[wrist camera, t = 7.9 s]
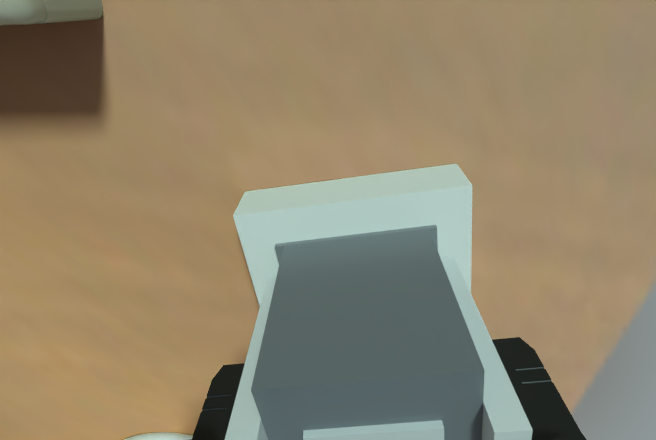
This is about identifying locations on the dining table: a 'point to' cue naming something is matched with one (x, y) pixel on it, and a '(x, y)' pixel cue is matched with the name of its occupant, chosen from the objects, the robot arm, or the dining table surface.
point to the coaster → (161, 436)
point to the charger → (367, 345)
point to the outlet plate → (357, 215)
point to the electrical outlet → (48, 11)
